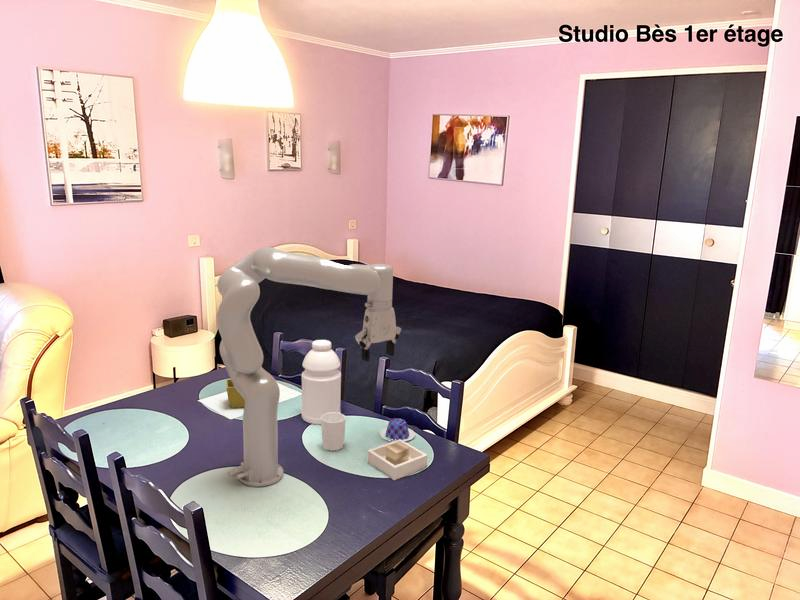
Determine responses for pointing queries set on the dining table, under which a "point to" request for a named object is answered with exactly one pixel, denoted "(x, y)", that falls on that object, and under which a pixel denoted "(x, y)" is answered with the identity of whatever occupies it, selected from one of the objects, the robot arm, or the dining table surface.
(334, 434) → the white cup
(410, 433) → the pudding
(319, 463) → the dining table surface
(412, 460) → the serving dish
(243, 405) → the flower pot
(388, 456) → the beech cube
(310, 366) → the white bottle
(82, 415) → the dining table surface
